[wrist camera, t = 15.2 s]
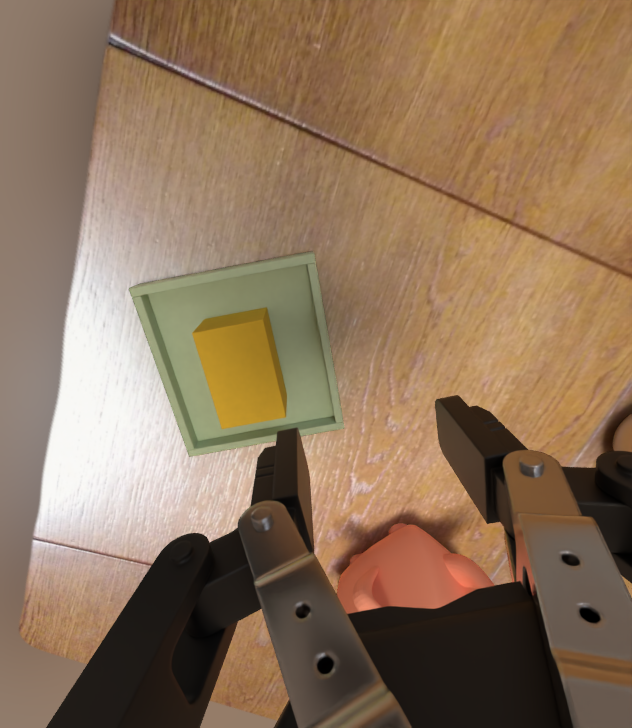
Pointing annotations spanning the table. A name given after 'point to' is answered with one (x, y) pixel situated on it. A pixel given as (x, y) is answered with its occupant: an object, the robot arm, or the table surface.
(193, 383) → the tray
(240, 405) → the sponge
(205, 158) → the table surface
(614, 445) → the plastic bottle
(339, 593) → the teapot
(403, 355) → the table surface
